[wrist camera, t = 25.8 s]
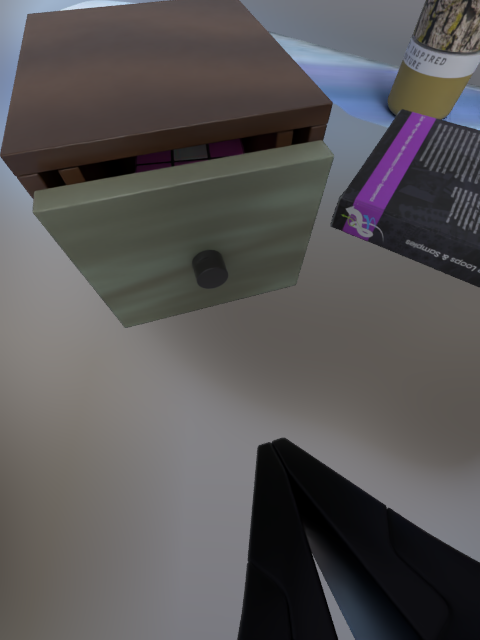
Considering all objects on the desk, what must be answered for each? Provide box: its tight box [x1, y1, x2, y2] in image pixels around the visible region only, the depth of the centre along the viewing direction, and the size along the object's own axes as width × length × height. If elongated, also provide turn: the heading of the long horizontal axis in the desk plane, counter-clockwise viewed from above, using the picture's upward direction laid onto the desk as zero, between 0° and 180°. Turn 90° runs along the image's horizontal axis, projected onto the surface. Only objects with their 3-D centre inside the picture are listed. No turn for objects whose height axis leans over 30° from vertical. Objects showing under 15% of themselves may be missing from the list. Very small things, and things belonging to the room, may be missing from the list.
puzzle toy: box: [135, 138, 245, 173], centre depth 17 cm, size 6×6×6 cm
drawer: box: [33, 130, 334, 328], centre depth 17 cm, size 15×11×9 cm
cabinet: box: [0, 0, 333, 200], centre depth 18 cm, size 15×13×11 cm
